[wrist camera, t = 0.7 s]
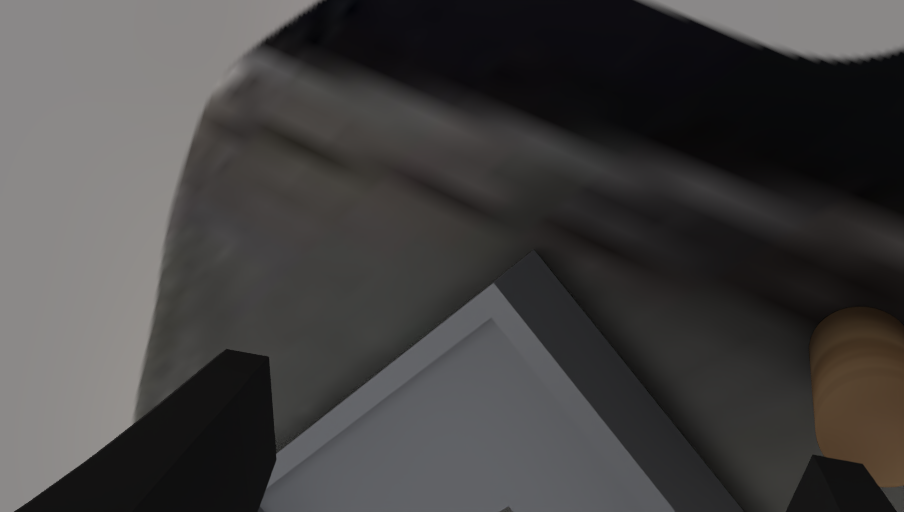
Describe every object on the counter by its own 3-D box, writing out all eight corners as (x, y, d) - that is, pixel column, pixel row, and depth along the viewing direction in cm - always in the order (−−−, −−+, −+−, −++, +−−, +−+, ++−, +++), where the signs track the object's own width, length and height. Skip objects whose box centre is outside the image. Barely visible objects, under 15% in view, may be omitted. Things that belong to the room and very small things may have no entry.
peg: (935, 364, 25) (977, 452, 20) (847, 411, 26) (864, 506, 21) (873, 288, 25) (897, 355, 20) (789, 339, 26) (790, 415, 21)
